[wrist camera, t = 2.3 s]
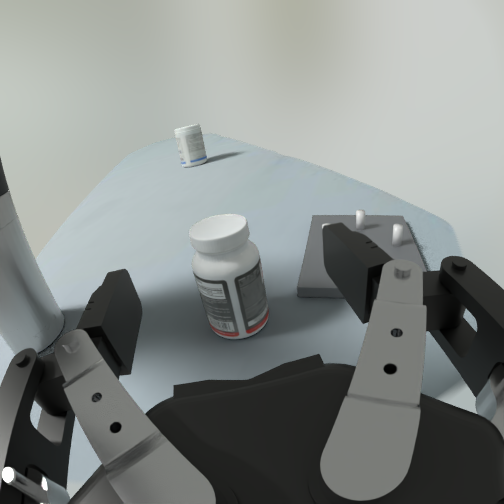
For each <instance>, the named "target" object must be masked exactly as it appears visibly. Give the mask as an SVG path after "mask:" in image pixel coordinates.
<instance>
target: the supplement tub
mask: <svg viewBox="0 0 504 504" xmlns="http://www.w3.org/2000/svg"><path fill="white" fill-rule="evenodd" d="M175 136H176V141H177V145H178V150H179V154H180V158H181V163H182V166H183V167H193V166H197V165H201V164H203V163H205V162H206V161H207V156H206V152H205V147H204V142H203V137H202V132H201V128H200V125H199V124H195V125H190V126H187V127H182V128H178V129H175Z"/></svg>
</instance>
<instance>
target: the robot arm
mask: <svg viewBox="0 0 504 504" xmlns="http://www.w3.org/2000/svg"><path fill="white" fill-rule="evenodd" d="M8 190H9V189H8V185H7V182H6V178H5V174H4V171H3V167H2V163H1V158H0V334H1V335H2V337H3V338H4V340H5V341H6V343H7V344H8V346H9V347H10V348H11V350H12V351H13V352H14V354H15V356H14V358H13V359H12V360H11V362H10V364H9V367H8V369H7V371H6V374H5V376H4V378H3V381H2V383H1V386H0V504H504V290H503V289H502V288H501V287H500V286H499V285H498V284H497V283H496V282H494V281H493V280H492V279H491V278H490V277H489V276H488V275H486V274H485V273H484V272H483V271H482V270H481V269H479V268H478V267H477V266H476V265H474V264H473V263H472V262H471V261H469V260H468V259H465V258H463V257H459V256H449V257H446V258H444V259H443V260H442V262H441V267H440V271H427V272H422V269H421V268H420V266H419V265H417V264H416V263H414V262H412V261H408V260H402V259H397V260H394V259H393V258H392V257H390V256H389V255H388V254H387V253H386V252H385V251H384V250H382V249H381V248H380V247H378V245H377V244H376V243H374V242H372V240H371V239H370V238H368V237H367V236H366V235H364V234H362V233H359V232H356V231H353V232H352V231H351V230H350V229H349V228H348V227H347V226H345V225H344V224H343V223H342V222H339V223H334V224H329V225H324V226H323V229H322V237H323V258H324V266H325V269H326V272H327V274H328V276H329V277H330V278H331V280H332V281H333V282H334V284H335V285H336V286H337V288H338V289H339V291H340V292H341V293H342V295H343V296H344V298H345V299H346V300H347V302H348V303H349V305H350V306H351V307H352V309H353V310H354V312H355V313H356V315H357V316H358V317H359V319H360V320H361V322H362V323H363V324H364V323H367V322H369V324H368V327H367V331H366V335H365V339H364V342H363V346H362V349H361V353H360V356H359V359H358V363H357V366H351V365H346V364H334V363H328V364H324V363H323V361H322V359H321V357H320V355H319V354H317V355H314V356H310V357H307V358H303V359H299V360H296V361H292V362H288V363H284V364H282V365H280V366H278V367H276V368H274V369H271V370H269V371H267V372H265V373H263V374H261V375H258V376H256V377H254V378H252V379H249V380H205V381H199V382H193V383H186V384H179V385H174V395H173V397H170V398H168V399H166V400H164V401H162V402H160V403H159V404H157V405H155V406H154V407H153V408H151V409H150V410H149V411H148V412H147V413H146V414H145V413H144V412H143V411H142V410H141V409H140V407H139V406H138V405H137V404H136V402H135V401H134V400H133V399H132V397H131V396H130V395H129V394H128V392H127V391H126V390H125V388H124V387H123V386H122V384H121V383H120V382H119V376H120V375H129V374H131V370H132V364H133V358H134V353H135V348H136V342H137V337H138V332H139V327H140V322H141V318H142V306H141V302H140V299H139V297H138V295H137V292H136V290H135V287H134V285H133V283H132V280H131V278H130V275H129V273H128V271H127V270H126V269H121V270H117V271H113V272H108V273H107V275H106V277H105V279H104V282H103V284H102V286H100V287H99V288H98V289H97V290H96V291H95V292H94V293H93V294H92V295H91V298H90V300H89V302H88V304H87V306H86V308H85V311H84V313H83V315H82V317H81V319H80V322H79V324H78V326H77V328H76V330H72V331H70V332H68V333H66V334H64V335H63V336H62V337H61V338H60V339H59V340H58V341H57V343H56V345H55V347H54V353H51V354H49V355H46V356H44V357H41V358H40V356H39V355H38V354H37V353H39V352H41V351H42V350H44V349H45V348H46V347H48V346H49V345H50V344H51V343H52V342H53V341H54V340H55V339H56V338H57V336H58V335H59V334H60V332H61V330H62V328H63V325H64V320H65V319H64V315H63V314H62V312H61V310H60V308H59V306H58V305H57V303H56V301H55V299H54V297H53V295H52V293H51V291H50V289H49V287H48V285H47V283H46V281H45V279H44V277H43V275H42V273H41V271H40V269H39V267H38V264H37V262H36V260H35V258H34V256H33V253H32V251H31V249H30V246H29V244H28V241H27V239H26V236H25V234H24V231H23V229H22V226H21V223H20V221H19V218H18V215H17V213H16V210H15V207H14V204H13V201H12V198H11V195H10V191H8ZM466 308H467V310H468V311H469V312H470V313H471V314H472V315H473V316H474V317H475V319H476V321H477V333H476V331H475V330H474V329H473V328H472V327H471V326H470V324H469V323H468V322H467V321H466V320H465V319H464V318H463V315H464V312H465V309H466ZM426 331H429V332H430V333H431V335H432V336H433V337H434V339H435V340H436V341H437V343H438V344H439V345H440V347H441V348H442V349H443V351H444V352H445V354H446V355H447V356H448V358H449V359H450V360H451V362H452V363H453V365H454V366H455V368H456V369H457V370H458V372H459V373H460V375H461V376H462V378H463V379H464V381H465V382H466V384H467V385H468V387H469V388H470V390H471V391H472V393H473V394H474V396H475V397H476V410H477V413H478V414H475V413H472V412H469V411H467V410H464V409H461V408H458V407H455V406H453V405H450V404H448V403H445V402H442V401H440V400H437V399H435V398H432V397H429V396H427V395H424V394H422V393H421V385H422V377H423V367H424V356H425V341H426ZM34 400H35V401H36V402H37V404H38V405H39V406H40V407H41V408H42V411H41V415H40V419H39V423H38V428H37V429H35V428H34V426H33V425H32V423H31V420H30V412H31V409H32V405H33V402H34ZM75 415H76V417H77V419H78V421H79V423H80V425H81V427H82V429H83V431H84V433H85V435H86V436H87V438H88V440H89V442H90V444H91V445H92V447H93V449H94V451H95V452H96V454H97V456H98V457H99V459H100V461H101V462H102V464H101V465H100V467H99V468H98V469H97V470H96V471H95V472H94V473H93V475H92V476H91V477H90V478H89V479H88V480H87V481H86V483H85V484H84V485H83V486H82V487H81V488H80V489H79V491H78V492H77V493H76V494H75V495H74V496H73V497H72V498H71V499H70V497H69V494H68V492H67V491H66V489H67V475H68V465H69V455H70V447H71V440H72V433H73V427H74V421H75Z"/></svg>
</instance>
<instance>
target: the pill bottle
mask: <svg viewBox="0 0 504 504" xmlns="http://www.w3.org/2000/svg"><path fill="white" fill-rule="evenodd" d="M249 235H250V232H249V228H248V223H247V220H246V218H245V217H243V216H241V215H237V214H221V215H216V216H211V217H208V218H205V219H203V220H201V221H199V222H197V223H195V224H194V225H193V226H192V227H191V228H190V230H189V236H190V241H191V245H192V247H193V248H194V249H195V250H196V252H195V254H194V256H193V258H192V269H193V273H194V276H195V279H196V283H197V286H198V289H199V292H200V295H201V298H202V302H203V305H204V308H205V311H206V314H207V317H208V321H209V323H210V326H211V328H212V330H213V331H214V332H215V333H216V334H218V335H219V336H221V337H224V338H228V339H242V338H246V337H249V336H252V335H254V334H256V333H257V332H258V331H260V330H261V329H262V328H263V327H264V326H265V324H266V322H267V320H268V316H269V311H268V304H267V298H266V292H265V286H264V279H263V273H262V267H261V261H260V255H259V251H258V248H257V247H256V245H255V244H254V243H253V242H251V241H250V240H248V237H249Z"/></svg>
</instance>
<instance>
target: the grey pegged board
mask: <svg viewBox="0 0 504 504" xmlns="http://www.w3.org/2000/svg"><path fill="white" fill-rule="evenodd" d="M339 222H342V223H343V224H344V225H345V226H347V227H348V228H349V229H350V230H351V231H352V232H353V231H356V232H359V233H362V234H364V235H366V236H367V237H368V238H370V239H371V240H372V242H374V243H376V244H377V245H378V247H380V248H381V249H382V250H384V251H385V252H386V253H387V254H388V255H389V256H390V257H392V258H393V259H394V260H397V259H402V260H408V261H412V262H414V263H416V264H417V265H419V266H420V268H421V269H422V272H427V270H426V268H425V265H424V263H423V260H422V258H421V256H420V253H419V251H418V248H417V246H416V244H415V241H414V239H413V237H412V235H411V232H410V230H409V228H408V226H407V224H406V222H405V220H404V217H403V216H384V215H365V211H364V210H357V211H356V215H313V217H312V221H311V226H310V231H309V236H308V241H307V245H306V250H305V255H304V259H303V264H302V268H301V273H300V277H299V281H298V286H297V293H298V297H324V298H344V296H343V295H342V293H341V292H340V291H339V289H338V288H337V286H336V285H335V284H334V282H333V281H332V280H331V278H330V277H329V276H328V274H327V272H326V269H325V266H324V258H323V237H322V229H323V226H324V225H329V224H334V223H339Z"/></svg>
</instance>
